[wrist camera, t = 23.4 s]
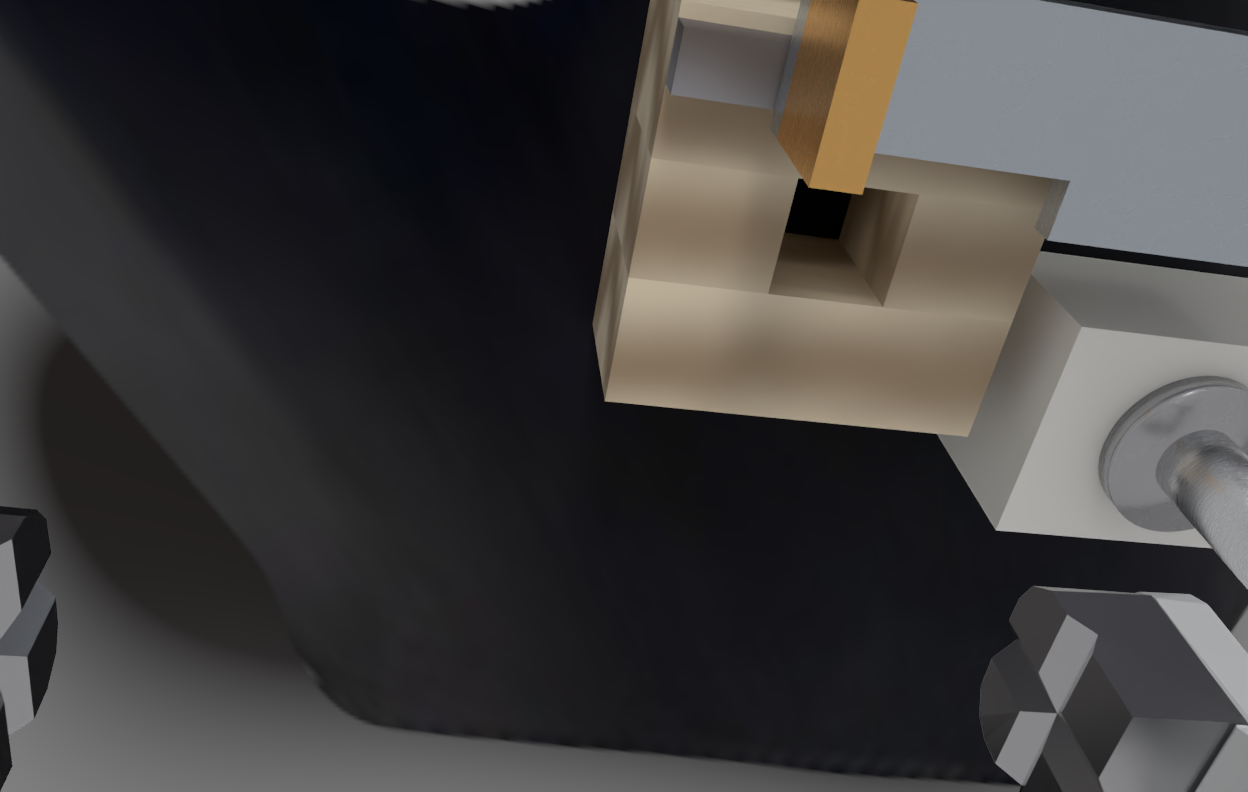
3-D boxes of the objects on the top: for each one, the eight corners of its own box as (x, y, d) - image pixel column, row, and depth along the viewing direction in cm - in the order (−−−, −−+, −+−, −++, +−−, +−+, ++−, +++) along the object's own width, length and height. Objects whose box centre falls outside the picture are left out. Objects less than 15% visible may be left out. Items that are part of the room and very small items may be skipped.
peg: (1064, 292, 46) (1264, 494, 34) (1204, 309, 47) (1446, 512, 35) (1011, 423, 49) (1176, 652, 37) (1143, 437, 50) (1345, 662, 38)
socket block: (657, -38, 38) (687, 8, 32) (1033, 25, 41) (1127, 79, 35) (592, 324, 45) (607, 418, 39) (917, 359, 48) (979, 454, 42)
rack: (1004, 246, 45) (1081, 326, 39) (1267, 280, 47) (1378, 362, 42) (935, 432, 50) (995, 530, 44) (1178, 456, 52) (1267, 552, 46)
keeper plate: (754, 190, 35) (790, 256, 31) (811, -44, 32) (860, -7, 27) (1265, 259, 38) (1361, 327, 34) (1367, 52, 35) (1489, 99, 30)
